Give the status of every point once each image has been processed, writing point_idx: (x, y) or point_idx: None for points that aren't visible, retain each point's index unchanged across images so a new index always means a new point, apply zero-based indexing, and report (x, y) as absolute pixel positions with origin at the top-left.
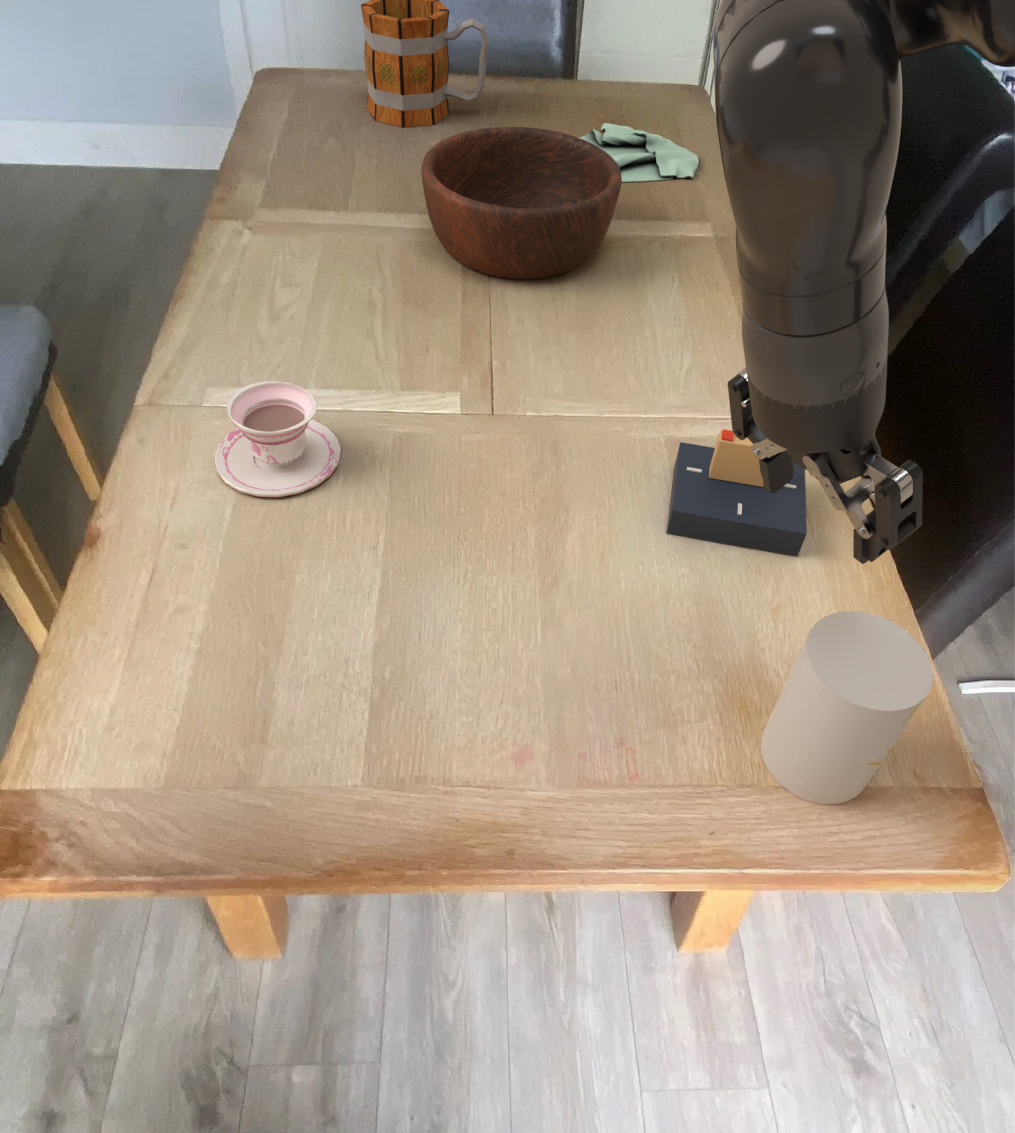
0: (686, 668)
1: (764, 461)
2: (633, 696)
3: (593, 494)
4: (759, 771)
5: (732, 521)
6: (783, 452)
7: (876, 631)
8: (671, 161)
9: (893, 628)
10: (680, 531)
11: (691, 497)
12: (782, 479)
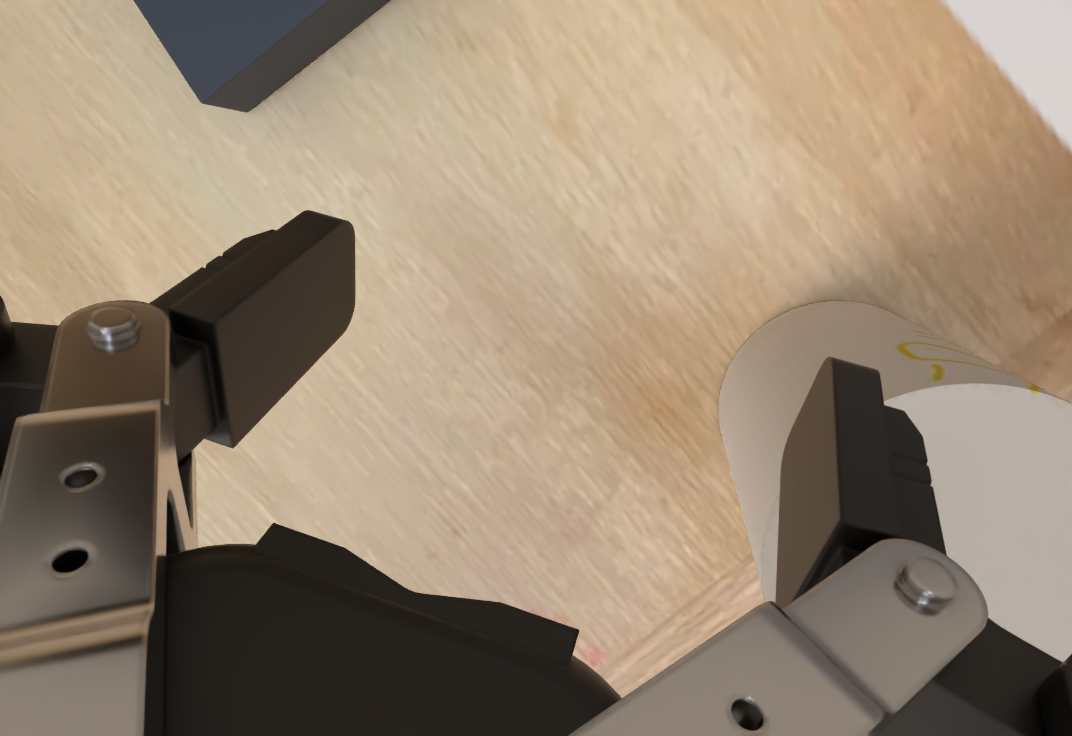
0: (520, 406)
1: (212, 436)
2: (490, 527)
3: (62, 138)
4: None
5: (322, 7)
6: (224, 362)
7: (932, 457)
8: None
9: (974, 406)
10: (262, 93)
11: (198, 19)
12: (330, 290)
